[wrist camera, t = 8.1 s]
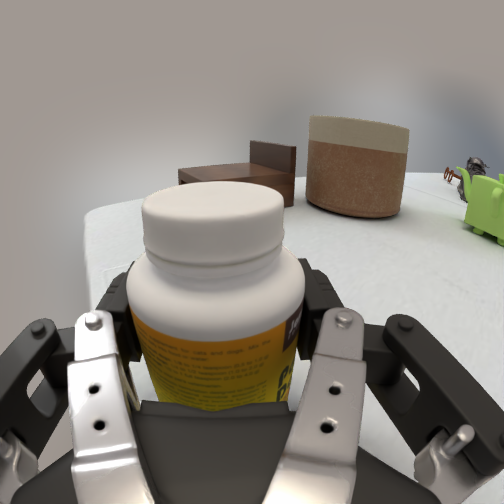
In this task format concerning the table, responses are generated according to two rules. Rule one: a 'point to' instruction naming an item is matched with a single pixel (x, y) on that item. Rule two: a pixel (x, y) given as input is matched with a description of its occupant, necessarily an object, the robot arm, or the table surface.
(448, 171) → the glasses
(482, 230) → the teapot
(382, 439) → the table surface
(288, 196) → the shelf
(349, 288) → the table surface
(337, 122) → the planter
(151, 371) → the supplement bottle
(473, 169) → the shoe
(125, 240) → the table surface
